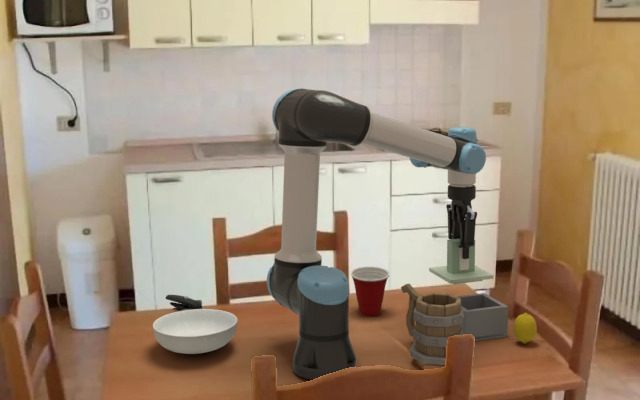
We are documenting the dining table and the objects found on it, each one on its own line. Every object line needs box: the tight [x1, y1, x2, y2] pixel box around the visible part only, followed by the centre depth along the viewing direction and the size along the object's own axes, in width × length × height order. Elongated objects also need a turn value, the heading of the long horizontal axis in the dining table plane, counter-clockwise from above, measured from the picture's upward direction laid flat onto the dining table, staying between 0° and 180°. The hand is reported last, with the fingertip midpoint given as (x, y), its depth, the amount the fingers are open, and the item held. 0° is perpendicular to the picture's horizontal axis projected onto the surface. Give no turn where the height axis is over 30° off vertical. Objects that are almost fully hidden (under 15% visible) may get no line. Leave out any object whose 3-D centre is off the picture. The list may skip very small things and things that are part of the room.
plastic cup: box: [350, 266, 390, 317], centre depth 216 cm, size 11×11×12 cm
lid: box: [428, 239, 494, 285], centre depth 215 cm, size 13×13×11 cm
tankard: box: [400, 283, 464, 367], centre depth 188 cm, size 20×13×15 cm, turn 30°
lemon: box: [513, 312, 538, 345], centre depth 192 cm, size 6×6×8 cm
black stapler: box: [165, 294, 203, 311], centre depth 219 cm, size 18×7×6 cm, turn 37°
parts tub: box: [456, 292, 509, 342], centre depth 201 cm, size 12×12×8 cm
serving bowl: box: [152, 308, 239, 355], centre depth 193 cm, size 21×21×7 cm
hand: (460, 267), depth 216 cm, fingers closed on lid, 3 cm apart
